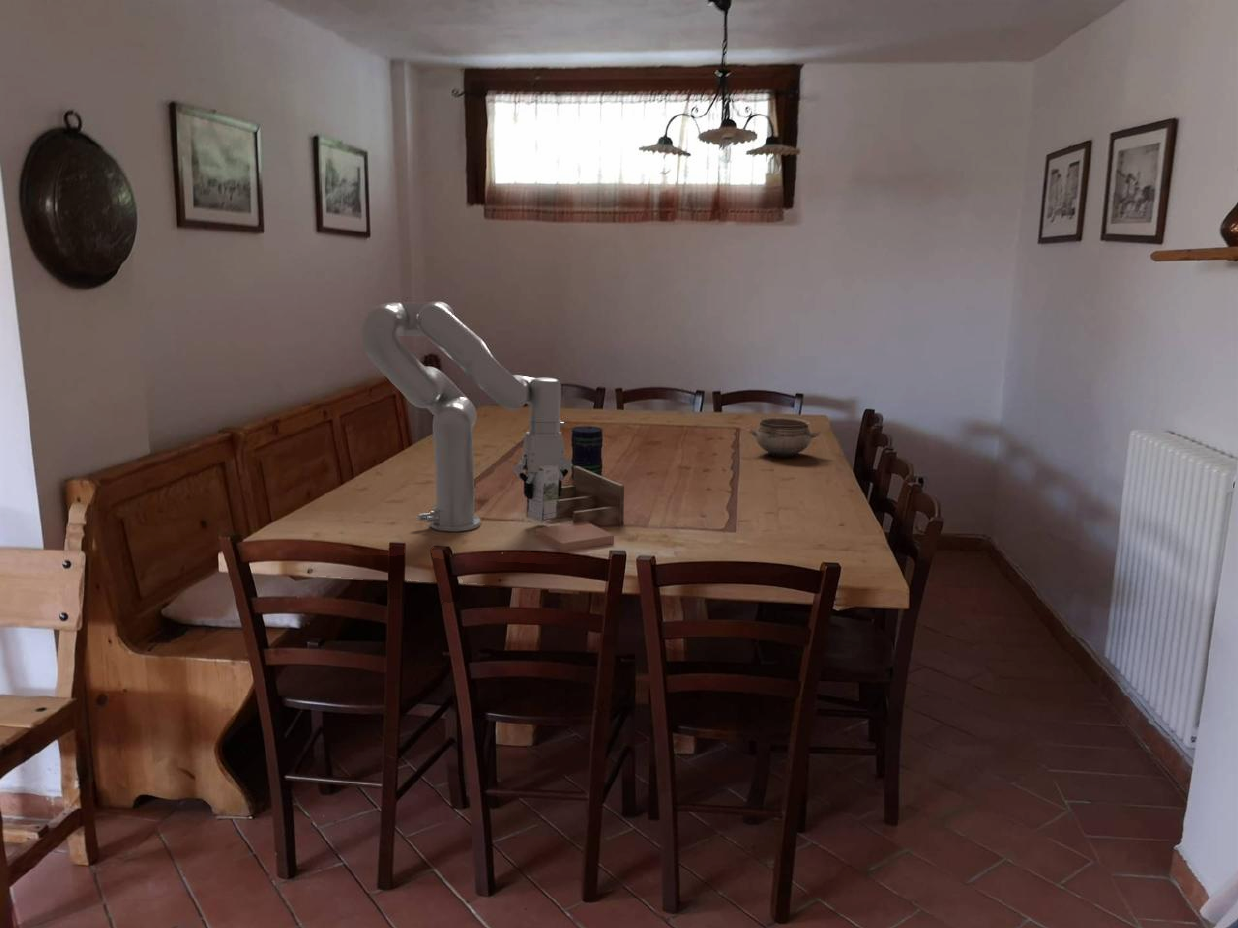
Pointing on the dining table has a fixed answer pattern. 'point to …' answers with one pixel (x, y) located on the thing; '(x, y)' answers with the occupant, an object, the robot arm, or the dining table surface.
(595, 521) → the walnut rack
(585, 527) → the terracotta tile
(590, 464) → the storage jar
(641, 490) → the dining table surface
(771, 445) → the cooking pot
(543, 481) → the syrup box
